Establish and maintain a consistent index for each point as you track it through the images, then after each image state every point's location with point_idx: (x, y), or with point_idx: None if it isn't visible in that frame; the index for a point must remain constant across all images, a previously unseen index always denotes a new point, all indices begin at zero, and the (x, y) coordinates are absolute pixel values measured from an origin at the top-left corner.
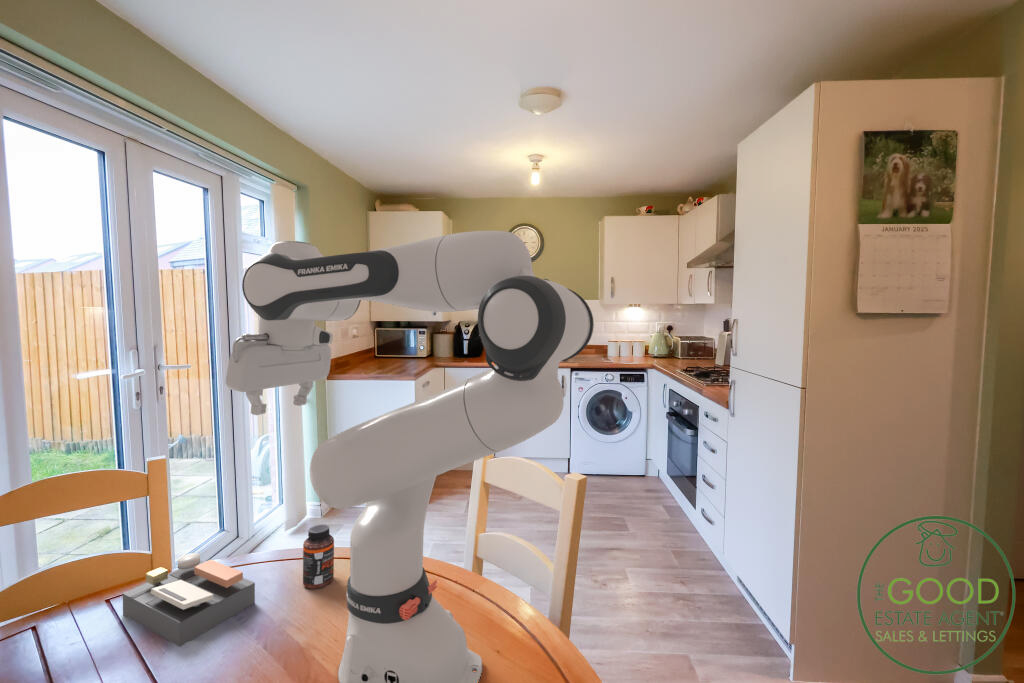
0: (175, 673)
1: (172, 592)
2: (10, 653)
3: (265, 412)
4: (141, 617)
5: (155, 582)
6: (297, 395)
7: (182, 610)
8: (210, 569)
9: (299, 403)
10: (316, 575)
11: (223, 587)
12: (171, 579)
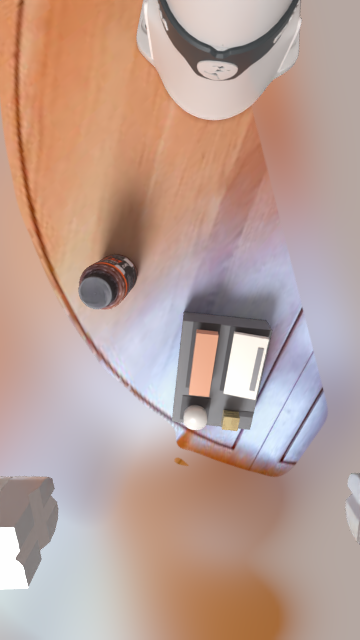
0: (296, 288)
1: (253, 373)
2: (311, 440)
3: (355, 475)
4: None
5: (236, 412)
6: (4, 576)
7: None
8: (206, 374)
9: (44, 492)
10: (129, 265)
11: None
12: (213, 411)
